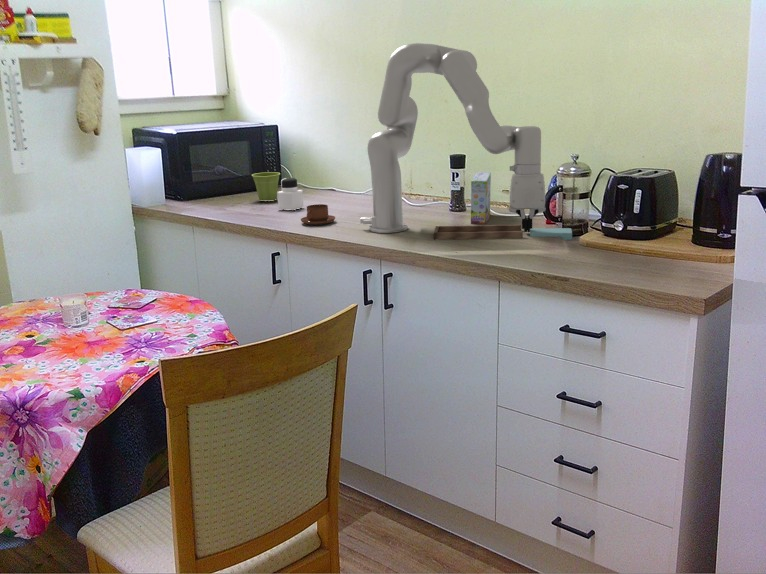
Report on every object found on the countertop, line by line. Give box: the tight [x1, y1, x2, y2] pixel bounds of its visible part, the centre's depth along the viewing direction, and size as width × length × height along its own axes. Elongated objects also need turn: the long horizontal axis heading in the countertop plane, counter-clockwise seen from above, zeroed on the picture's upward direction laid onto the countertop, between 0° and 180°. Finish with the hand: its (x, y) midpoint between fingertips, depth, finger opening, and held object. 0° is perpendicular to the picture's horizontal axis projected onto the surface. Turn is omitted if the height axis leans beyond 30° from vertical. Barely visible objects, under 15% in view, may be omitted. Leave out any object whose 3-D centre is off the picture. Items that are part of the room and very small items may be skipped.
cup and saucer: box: [300, 203, 336, 226], centre depth 258 cm, size 12×12×6 cm
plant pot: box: [251, 171, 281, 201], centre depth 309 cm, size 12×12×11 cm
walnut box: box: [433, 224, 524, 240], centre depth 225 cm, size 26×10×3 cm, turn 83°
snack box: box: [470, 172, 492, 225], centre depth 249 cm, size 21×6×15 cm, turn 168°
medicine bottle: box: [277, 177, 305, 210], centre depth 287 cm, size 7×7×12 cm
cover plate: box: [529, 227, 573, 241], centre depth 222 cm, size 12×7×2 cm, turn 79°
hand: (527, 231), depth 223 cm, fingers closed
